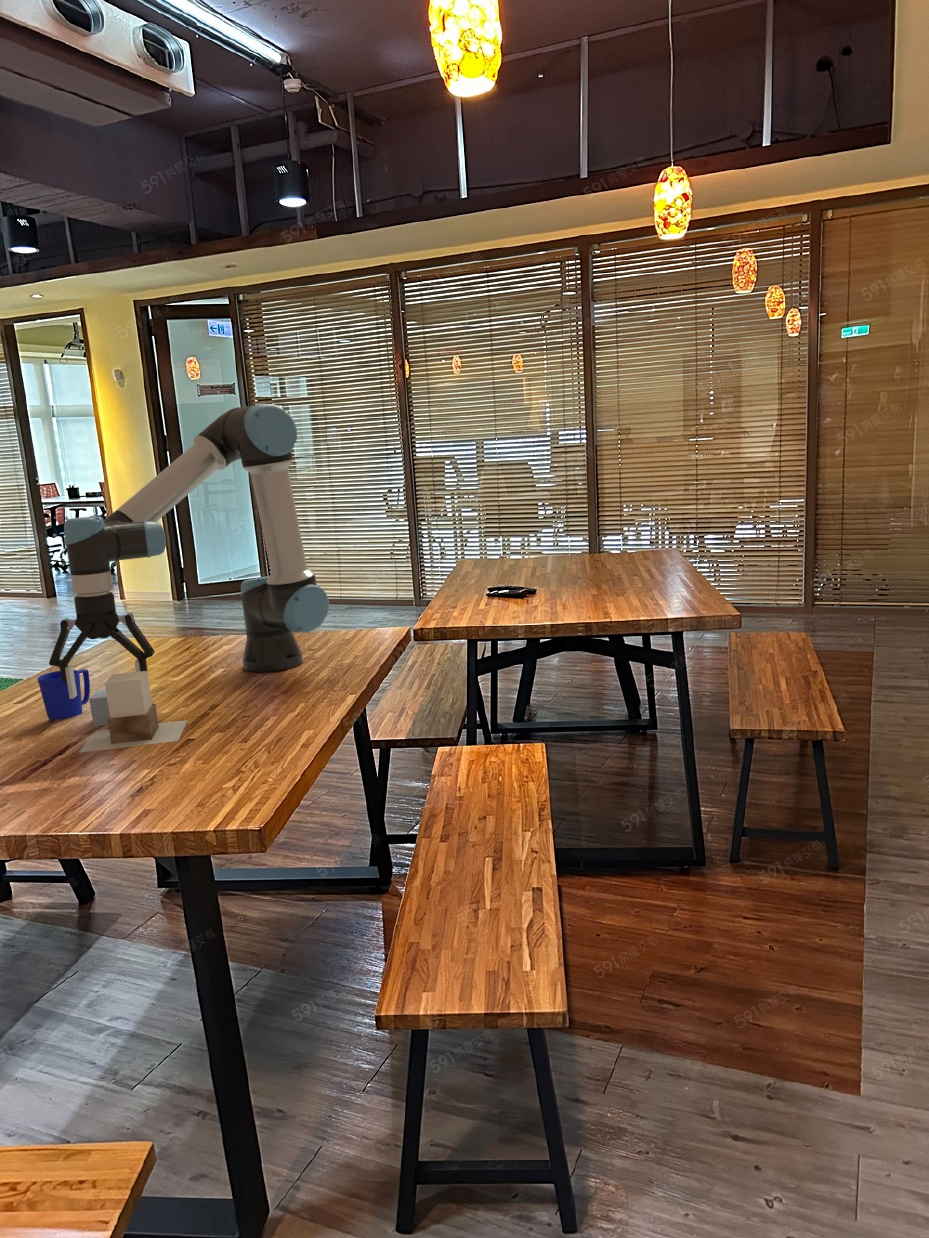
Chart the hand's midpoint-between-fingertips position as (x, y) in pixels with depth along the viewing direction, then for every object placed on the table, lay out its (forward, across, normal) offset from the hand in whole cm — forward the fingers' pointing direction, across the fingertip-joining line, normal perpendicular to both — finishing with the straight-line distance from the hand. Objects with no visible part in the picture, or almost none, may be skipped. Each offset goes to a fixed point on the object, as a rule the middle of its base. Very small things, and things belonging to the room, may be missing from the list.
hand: (107, 693), depth 178 cm
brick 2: (+1, -7, +13) cm, 15 cm away
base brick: (+6, -7, +13) cm, 16 cm away
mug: (+7, +11, -10) cm, 16 cm away
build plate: (+7, -7, +13) cm, 16 cm away
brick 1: (+7, 0, 0) cm, 7 cm away
